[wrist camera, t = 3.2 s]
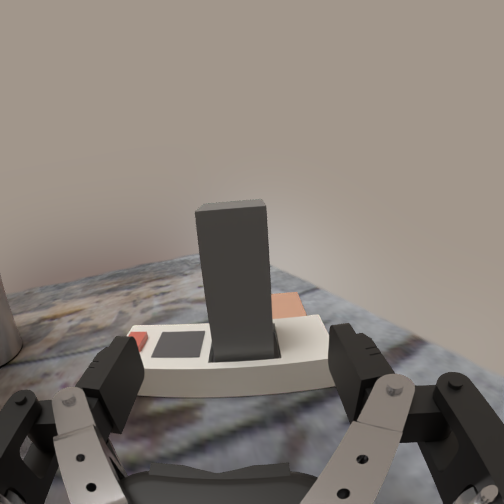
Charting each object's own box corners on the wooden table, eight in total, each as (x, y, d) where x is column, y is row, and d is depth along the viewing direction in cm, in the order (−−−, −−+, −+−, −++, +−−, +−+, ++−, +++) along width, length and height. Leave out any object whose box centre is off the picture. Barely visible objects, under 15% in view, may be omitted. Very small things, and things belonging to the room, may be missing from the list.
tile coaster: (235, 331, 31) (234, 327, 31) (236, 300, 39) (236, 296, 38) (309, 325, 31) (309, 321, 31) (297, 295, 39) (297, 291, 39)
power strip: (118, 393, 21) (105, 360, 20) (140, 350, 28) (132, 320, 27) (381, 377, 21) (388, 342, 20) (355, 335, 28) (358, 304, 27)
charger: (216, 367, 22) (194, 211, 18) (220, 337, 26) (204, 203, 23) (274, 364, 22) (266, 205, 18) (269, 334, 26) (261, 198, 23)
